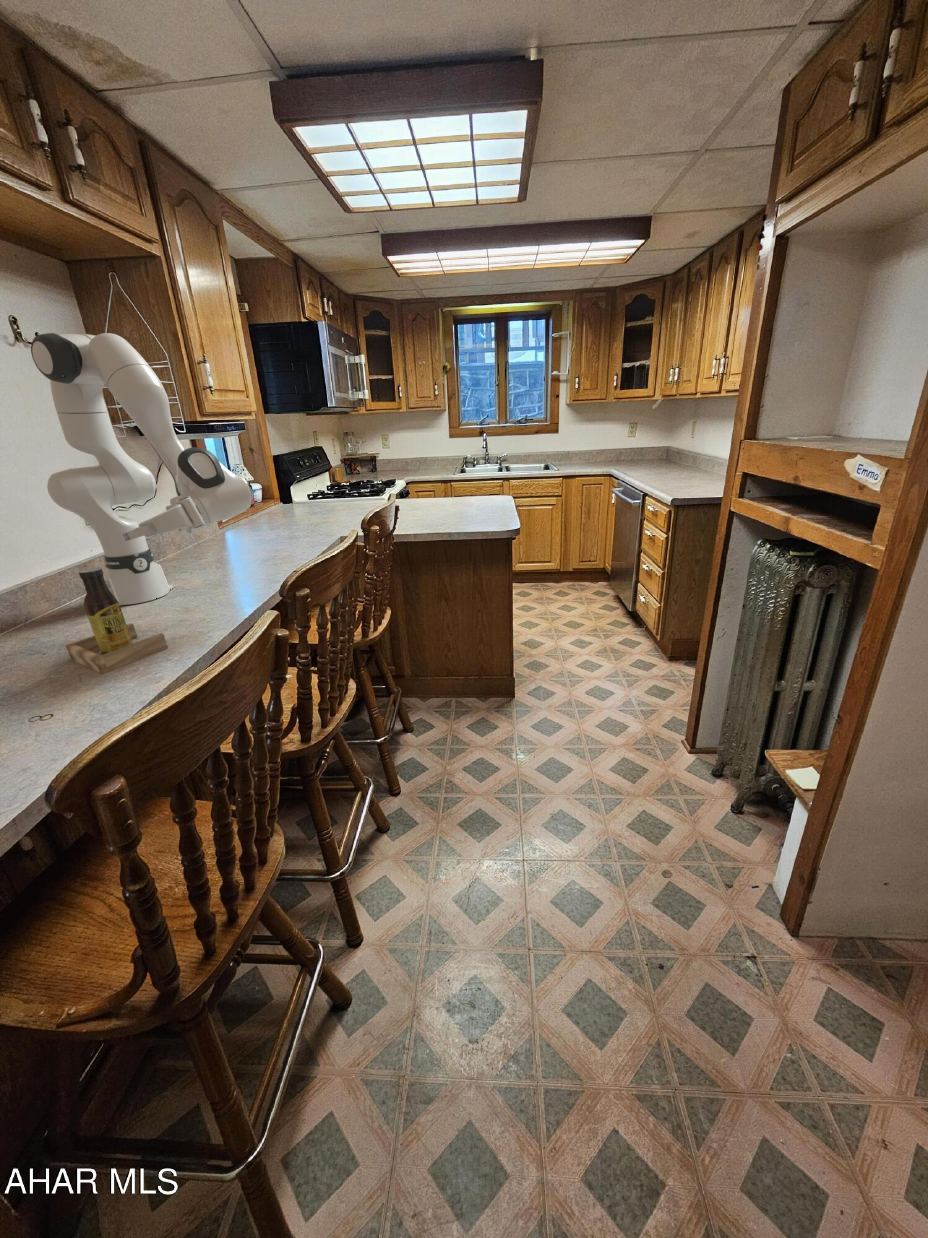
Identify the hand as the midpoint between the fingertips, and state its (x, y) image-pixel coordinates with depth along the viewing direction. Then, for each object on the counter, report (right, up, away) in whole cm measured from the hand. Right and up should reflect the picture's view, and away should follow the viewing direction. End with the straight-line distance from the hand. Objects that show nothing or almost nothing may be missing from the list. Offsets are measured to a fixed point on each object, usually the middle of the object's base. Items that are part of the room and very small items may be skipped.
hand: (126, 536), depth 109 cm
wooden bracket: (-3, -26, +2) cm, 27 cm away
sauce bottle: (-3, -27, +2) cm, 27 cm away
